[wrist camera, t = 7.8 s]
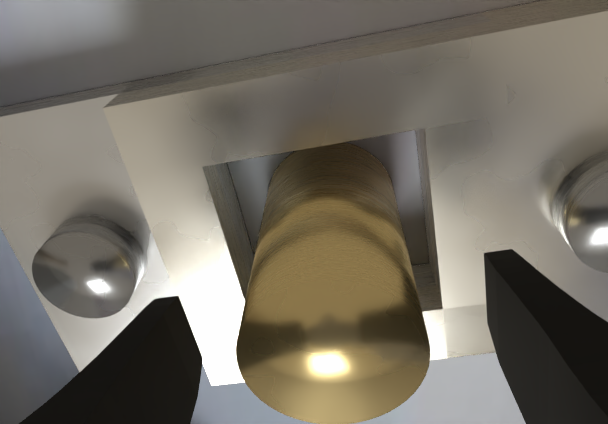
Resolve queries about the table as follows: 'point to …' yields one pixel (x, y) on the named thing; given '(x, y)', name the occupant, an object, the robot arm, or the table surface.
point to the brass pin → (332, 293)
